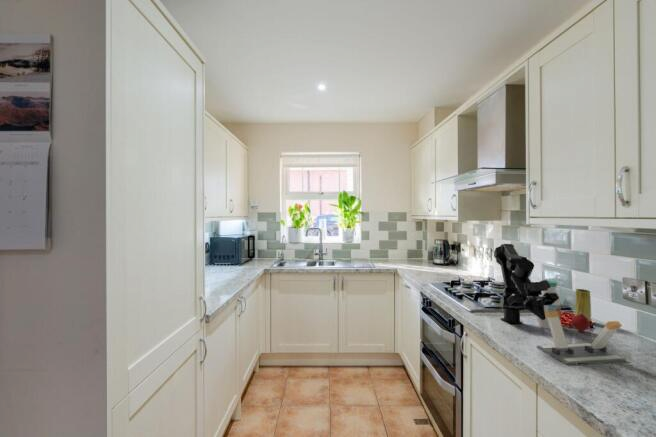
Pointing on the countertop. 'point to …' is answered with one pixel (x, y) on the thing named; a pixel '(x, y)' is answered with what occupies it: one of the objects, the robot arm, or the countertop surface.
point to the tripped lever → (557, 331)
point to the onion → (580, 322)
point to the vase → (583, 303)
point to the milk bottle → (548, 308)
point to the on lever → (605, 335)
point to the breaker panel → (581, 354)
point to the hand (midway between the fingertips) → (544, 319)
